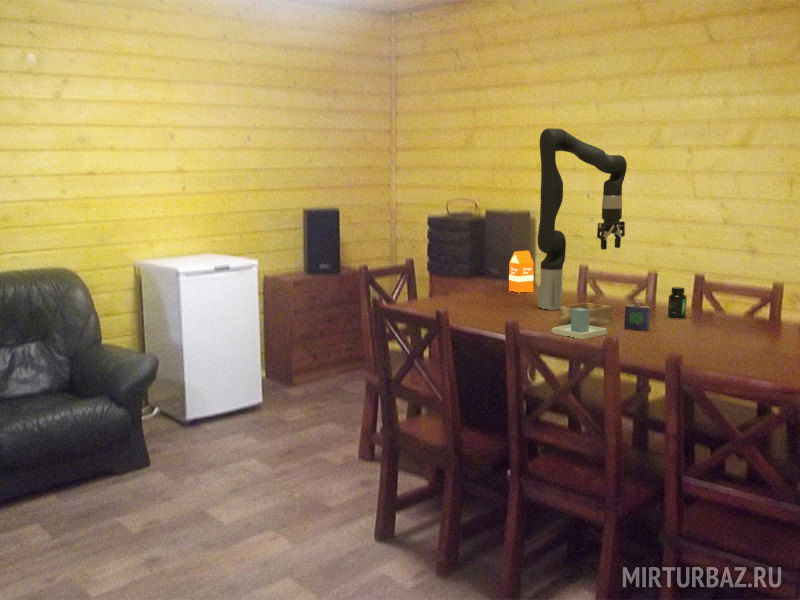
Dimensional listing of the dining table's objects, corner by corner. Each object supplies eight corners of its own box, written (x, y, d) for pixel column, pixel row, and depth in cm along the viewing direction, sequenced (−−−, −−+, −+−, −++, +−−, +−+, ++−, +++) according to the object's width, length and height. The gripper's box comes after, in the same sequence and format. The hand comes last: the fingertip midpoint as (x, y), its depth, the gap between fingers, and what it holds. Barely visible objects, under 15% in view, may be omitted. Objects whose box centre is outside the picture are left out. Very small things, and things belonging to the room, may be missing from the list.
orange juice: (533, 292, 390) (534, 251, 387) (518, 294, 386) (519, 252, 382) (523, 290, 397) (523, 249, 393) (508, 292, 392) (509, 250, 389)
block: (570, 330, 298) (571, 309, 297) (578, 329, 301) (579, 307, 299) (580, 332, 295) (581, 311, 293) (588, 331, 297) (589, 309, 296)
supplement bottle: (688, 319, 324) (689, 289, 322) (670, 319, 324) (672, 289, 322) (682, 315, 330) (683, 286, 328) (665, 315, 330) (666, 286, 328)
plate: (551, 333, 299) (551, 327, 299) (576, 328, 307) (576, 323, 307) (582, 339, 288) (582, 334, 288) (607, 334, 297) (607, 328, 296)
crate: (559, 323, 317) (559, 306, 316) (585, 318, 326) (585, 302, 325) (585, 328, 307) (585, 311, 306) (611, 323, 317) (611, 306, 315)
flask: (650, 330, 303) (651, 301, 302) (648, 331, 301) (649, 302, 299) (624, 328, 308) (625, 300, 306) (623, 329, 305) (624, 301, 303)
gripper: (615, 206, 325) (613, 246, 328) (592, 207, 316) (591, 249, 319) (631, 206, 319) (629, 248, 322) (608, 208, 311) (606, 250, 313)
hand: (610, 248), depth 320 cm, fingers open, 8 cm apart
